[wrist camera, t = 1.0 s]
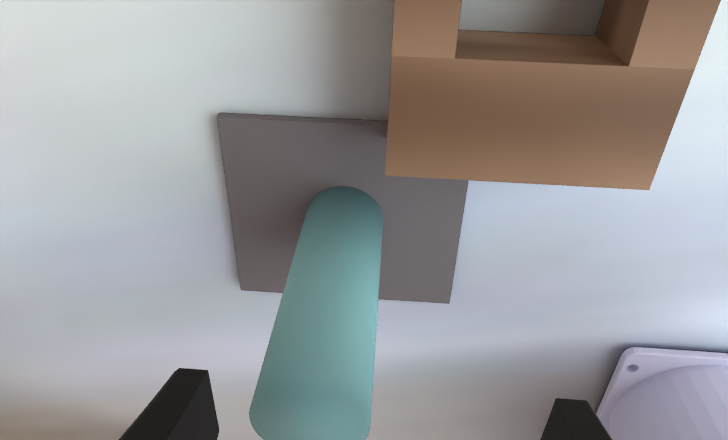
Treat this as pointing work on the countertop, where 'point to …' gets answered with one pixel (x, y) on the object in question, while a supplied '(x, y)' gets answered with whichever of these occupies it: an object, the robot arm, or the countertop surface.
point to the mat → (326, 170)
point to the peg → (325, 326)
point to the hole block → (540, 95)
